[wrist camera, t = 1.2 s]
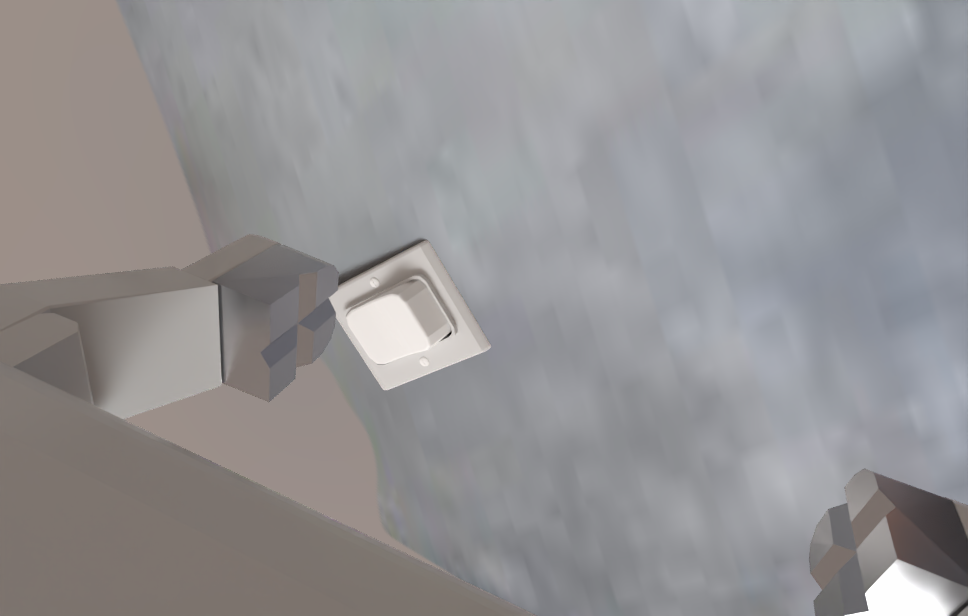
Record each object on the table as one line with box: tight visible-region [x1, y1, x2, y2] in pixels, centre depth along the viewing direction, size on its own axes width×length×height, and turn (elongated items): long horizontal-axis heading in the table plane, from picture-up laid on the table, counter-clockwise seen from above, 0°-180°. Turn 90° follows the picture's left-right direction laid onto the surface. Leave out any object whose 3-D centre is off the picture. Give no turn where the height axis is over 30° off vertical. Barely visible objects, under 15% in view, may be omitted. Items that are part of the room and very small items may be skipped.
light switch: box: [329, 240, 491, 390], centre depth 54 cm, size 11×4×13 cm
